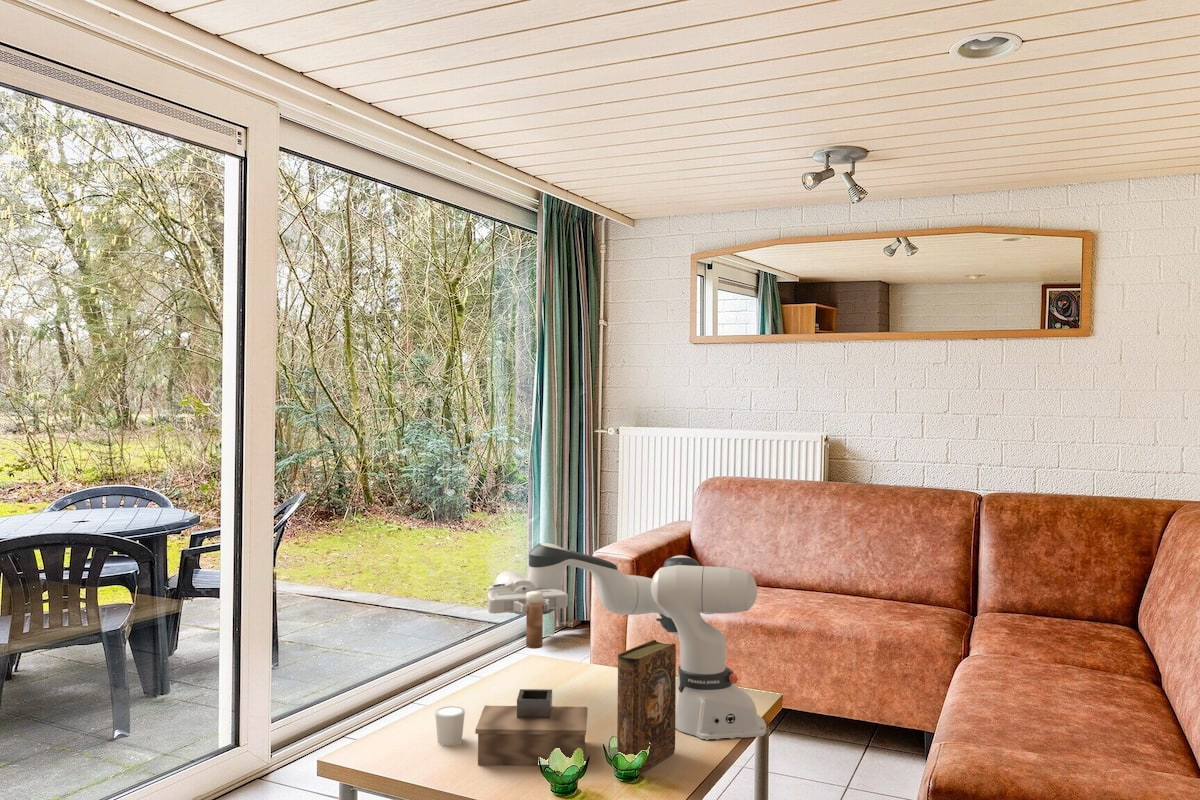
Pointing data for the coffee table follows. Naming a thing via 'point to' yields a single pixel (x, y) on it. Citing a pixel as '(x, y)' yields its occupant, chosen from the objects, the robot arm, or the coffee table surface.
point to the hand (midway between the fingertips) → (535, 608)
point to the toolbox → (529, 730)
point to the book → (647, 701)
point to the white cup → (449, 725)
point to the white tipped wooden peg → (534, 620)
